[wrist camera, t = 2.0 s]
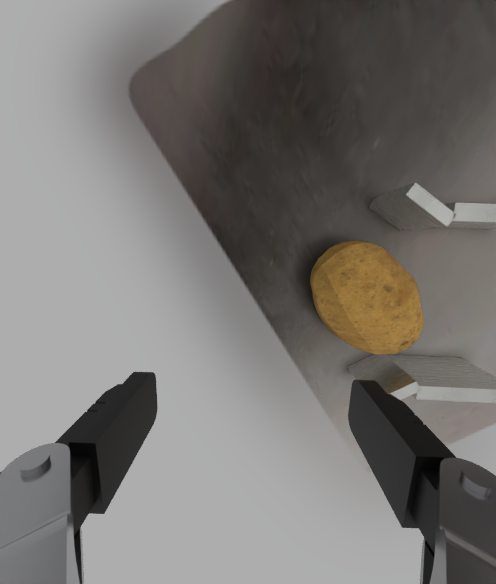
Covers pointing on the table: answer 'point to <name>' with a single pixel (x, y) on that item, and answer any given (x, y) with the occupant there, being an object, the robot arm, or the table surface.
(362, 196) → the table surface
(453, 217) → the channel
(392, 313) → the potato
